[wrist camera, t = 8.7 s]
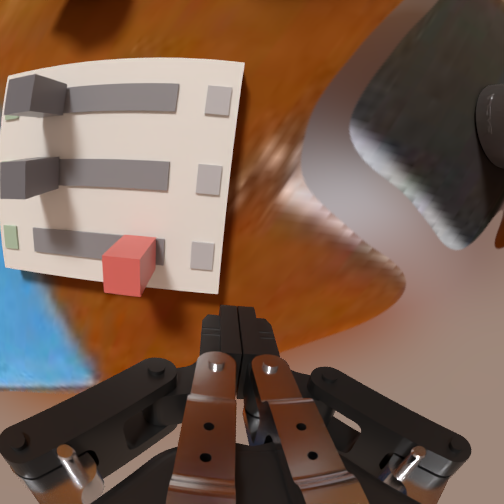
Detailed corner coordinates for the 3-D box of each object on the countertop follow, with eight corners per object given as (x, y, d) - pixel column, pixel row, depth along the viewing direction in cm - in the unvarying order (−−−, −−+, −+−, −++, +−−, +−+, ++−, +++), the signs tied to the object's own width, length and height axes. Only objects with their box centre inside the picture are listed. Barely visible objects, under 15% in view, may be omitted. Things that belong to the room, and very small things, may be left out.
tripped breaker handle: (156, 237, 21) (139, 259, 17) (155, 268, 22) (140, 297, 17) (124, 234, 21) (101, 255, 16) (124, 265, 21) (104, 292, 17)
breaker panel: (243, 69, 20) (250, 38, 13) (218, 283, 25) (216, 330, 19) (20, 79, 18) (-29, 68, 11) (16, 259, 23) (-27, 289, 16)
